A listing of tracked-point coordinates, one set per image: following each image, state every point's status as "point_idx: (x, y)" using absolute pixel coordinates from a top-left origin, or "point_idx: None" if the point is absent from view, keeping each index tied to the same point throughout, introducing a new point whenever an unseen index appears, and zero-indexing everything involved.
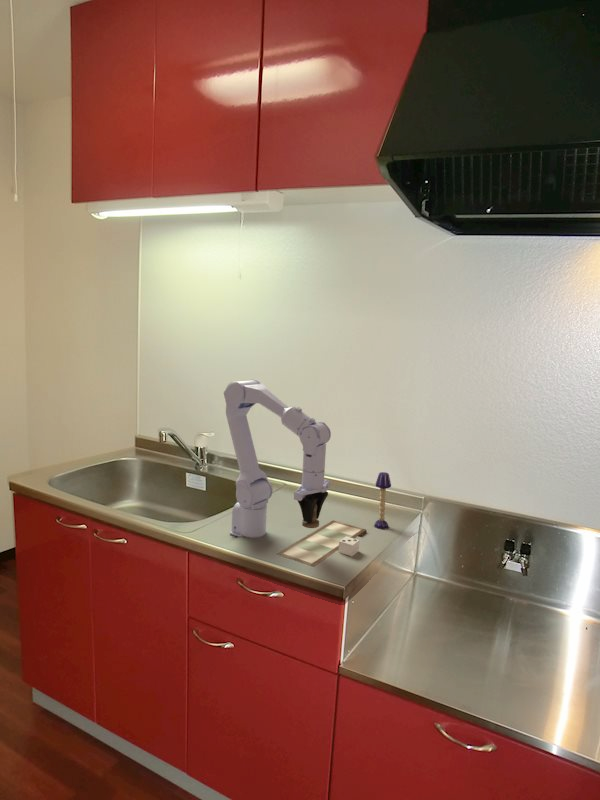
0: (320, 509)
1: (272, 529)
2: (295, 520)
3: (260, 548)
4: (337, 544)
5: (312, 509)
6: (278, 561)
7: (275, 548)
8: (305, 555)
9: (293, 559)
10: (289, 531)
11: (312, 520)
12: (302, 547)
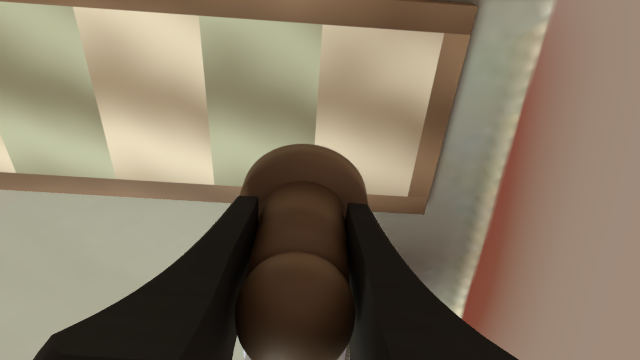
0: (217, 237)
1: None
2: (63, 296)
3: None
4: (131, 22)
5: (406, 282)
6: (457, 180)
7: None
8: (372, 107)
9: (444, 133)
10: None
11: (334, 206)
12: None
